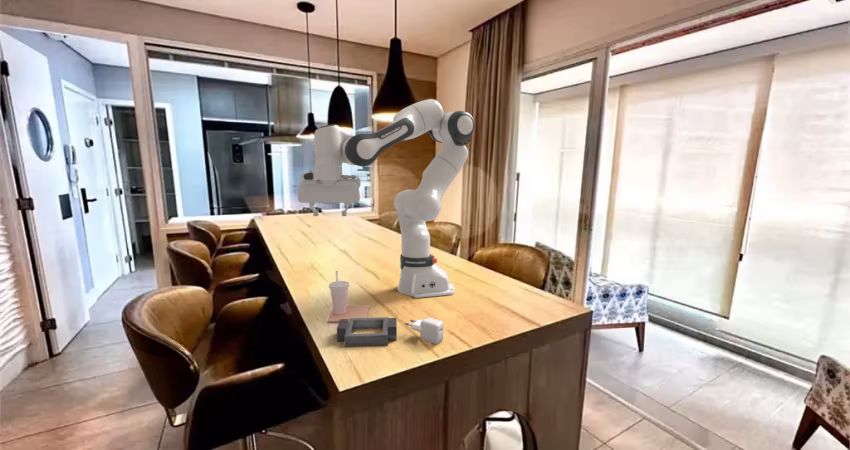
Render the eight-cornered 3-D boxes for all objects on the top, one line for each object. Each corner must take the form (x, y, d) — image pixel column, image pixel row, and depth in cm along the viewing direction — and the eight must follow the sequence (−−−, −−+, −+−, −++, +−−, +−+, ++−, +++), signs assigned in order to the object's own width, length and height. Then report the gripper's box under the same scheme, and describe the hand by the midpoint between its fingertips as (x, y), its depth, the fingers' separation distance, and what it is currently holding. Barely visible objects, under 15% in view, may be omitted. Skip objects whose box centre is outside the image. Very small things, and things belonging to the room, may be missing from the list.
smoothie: (330, 309, 119) (328, 268, 117) (350, 307, 121) (348, 267, 119) (329, 317, 113) (327, 274, 111) (350, 315, 115) (348, 273, 112)
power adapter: (403, 335, 103) (403, 316, 102) (412, 329, 107) (412, 311, 106) (436, 346, 97) (436, 326, 96) (445, 339, 101) (445, 320, 100)
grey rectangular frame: (396, 326, 109) (396, 313, 109) (396, 345, 98) (396, 331, 97) (341, 327, 108) (341, 315, 107) (335, 347, 96) (335, 333, 96)
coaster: (369, 307, 123) (369, 305, 123) (366, 322, 112) (366, 320, 111) (333, 308, 122) (333, 306, 122) (327, 323, 111) (327, 321, 110)
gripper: (361, 174, 124) (361, 214, 126) (300, 174, 122) (302, 214, 124) (359, 175, 117) (360, 217, 120) (295, 174, 116) (297, 217, 118)
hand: (330, 216), depth 122 cm, fingers open, 8 cm apart
